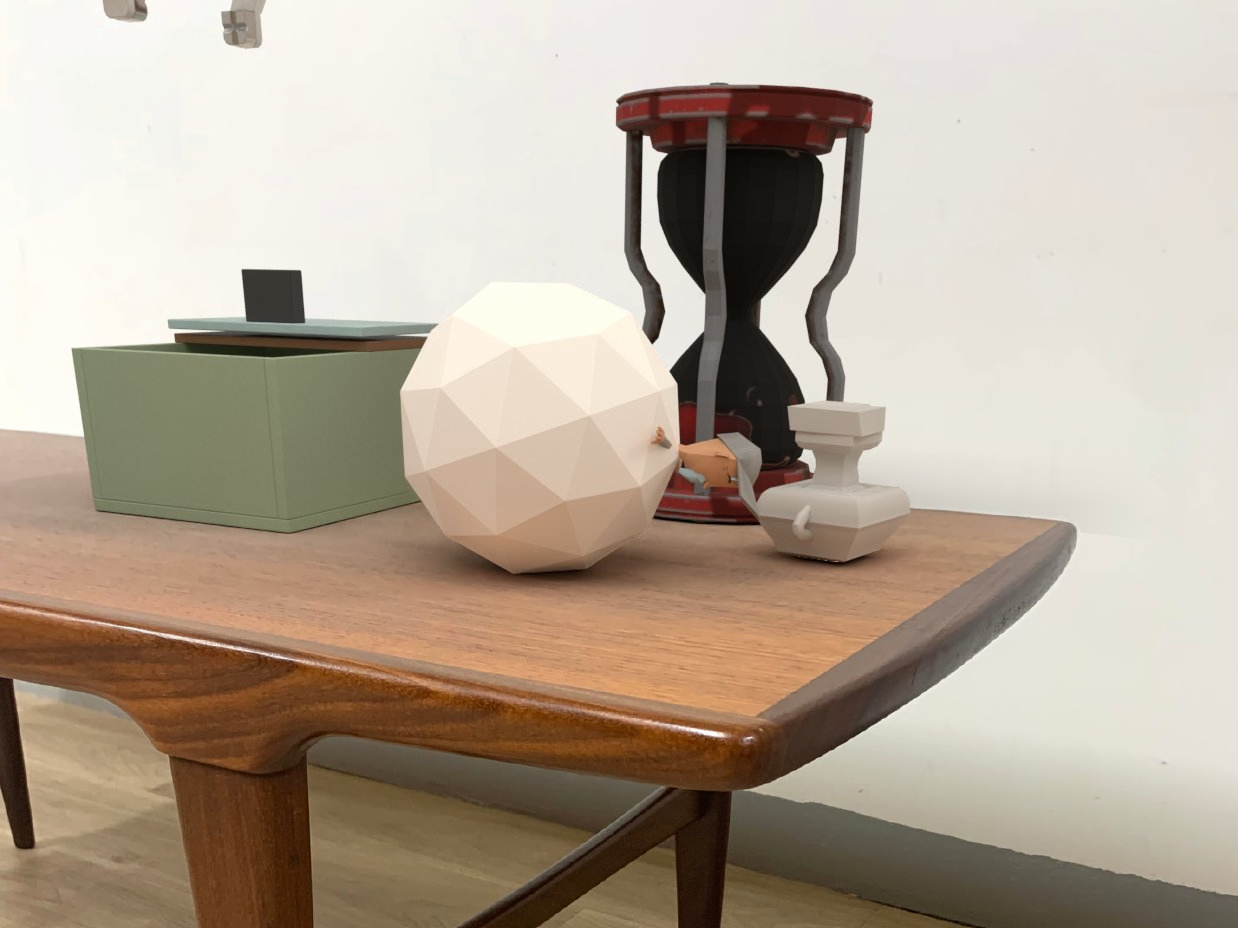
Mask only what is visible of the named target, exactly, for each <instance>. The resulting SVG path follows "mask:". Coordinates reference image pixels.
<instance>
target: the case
mask: <svg viewBox="0 0 1238 928" xmlns="http://www.w3.org/2000/svg"><path fill="white" fill-rule="evenodd" d="M173 337H174V342H163V343H161V342H160V343H159V342H158V343H142V344H121V345H103V346H85V347H84V346H82V347H80V346H79V347H71V355H72V362H73V369H74V376H75V382H76V389H77V397H78V404H79V411H80V417H81V424H82V425H81V426H82V431H83V438H84V445H85V451H86V458H87V466H88V472H89V477H90V478H89V479H90V486H91V492H92V498H93V502H94V503H93V505H94V510H95V511H98V512H106V513H107V512H108V513H117V514H124V515H125V514H126V515H133V516H142V517H149V518H158V519H167V520H176V521H183V522H191V523H201V524H209V525H217V526H225V527H233V528H243V529H252V530H260V531H268V532H277V533H286V534H291V533H296V532H299V531H304V530H308V529H312V528H315V527H320V526H324V525H328V524H332V523H336V522H340V521H344V520H348V519H352V518H356V517H361V516H364V515H369V514H373V513H376V512H381V511H385V510H389V509H393V508H397V507H400V506H405V505H409V504H414V503H417V502H422V501H421V499H420V498H419V497H418V495H417V494H416V492H415V491H414V489H413V488H412V486H411V485H410V483H409V482H408V481H407V479H406V478H405V469H404V452H403V434H402V417H401V399H400V390H401V388H402V386H403V385H404V383H405V381H406V379H407V377H408V375H409V373H410V371H411V369H412V367H413V365H414V363H415V361H416V359H417V357H418V355H419V353H420V351H421V349H422V347H423V345H424V343H425V341H426V339H427V338H428V336H427V335H425V336H424V335H423V336H422V335H389V336H371V337H350V336H327V335H304V334H281V333H258V332H234V331H196V332H194V331H193V332H174V334H173Z"/></svg>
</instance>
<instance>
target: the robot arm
mask: <svg viewBox="0 0 1238 928" xmlns="http://www.w3.org/2000/svg"><path fill="white" fill-rule="evenodd" d="M266 1H267V0H232V1H231V5H230V10H224V11H220V15H221V24H222V27H223V32H222V37H223V40H224V42H225V44H227V45H228V46H232V47H235V48H239V49H245V50H249V49H259V48H260V47H261V46H262V44H263V33H262V32H263V31H262V20H261V14H262V13H263V11H264V7H265V4H266ZM102 6H103V13H104V14H105V16H106V17H107V18H109V19H111V20H115V21H120V22H126V23H137V22H138V23H141V22H144V21H146V20H147V17H148V15H149V11H148V6H147V4H146V0H102Z"/></svg>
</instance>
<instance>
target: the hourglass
mask: <svg viewBox="0 0 1238 928" xmlns="http://www.w3.org/2000/svg"><path fill="white" fill-rule="evenodd" d="M615 103H616V104H617V106H616V107H615V126H616V128H617V129H619V130H620V131H622V132H624V133H625V174H624V175H625V179H624V182H625V183H624V230H623V231H624V234H623V240H624V242H623V248H624V249H623V252H624V254H625V257H626V261H627V265H628V269H629V271H630V272H631V274H632V275H633V277H634V278H635V280H636V281H637V283H638V284H639V286H640V287H641V290H642V298H643V304H644V309H645V312H644V316H643V322H642V326H641V328H642V330H643V332H644V333H645V335H646V336H647V338H648V339H649V341H650V342H651V344H652V346H653V345H654V344H655V343H656V342H657V341H658V339H659V338H660V334H661V330H662V327H663V323H664V319H665V315H666V307H665V302H664V298H663V297H664V296H663V293H662V287H661V284H660V283H659V282H658V281H657V279H656V278H655V277H654V275H653V274H652V272H650V270H649V268H648V266H647V262H646V260H645V256H644V253H643V250H642V215H643V213H642V212H643V210H642V207H643V205H642V203H643V158H644V154H643V153H644V136H645V137H649V139H650V143H651V148H652V149H653V150H654V151H656V152H658V153H662V154H665V156H664V157H663V158H662V160H660V163H659V166H658V170H657V175H656V177H657V180H656V202H657V211H658V222H659V225H660V228H661V230H662V233H663V235H664V237H665V240H666V243H667V245H668V247H669V249H670V250H671V252H672V253H673V254H674V256H675V257H676V259H677V261H678V262H679V264H680V265H681V267H682V268H683V270H685V272H686V273H687V274H688V275H689V277H690V278H691V279H692V280H693V281H694V283H695V284H696V285H697V287H698V288H699V289H700V291H701V292H702V293H703V294H704V296H705V298H704V324H703V325H704V326H703V331H702V332H701V333H700V334H699V336H697V338H696V339H695V340H694V341H693V342H692V343H691V344H690V345H689V347H687V349H685V351H684V352H683V353H682V354H681V355H680V356H679V358H678V359H677V360H676V361H675V363H674V364H673V365H672V367H671V368H670V370H669V372H670V373H671V375H672V377H673V378H674V380H675V381H676V383H677V389H678V413H679V436H680V444H682V445H685V446H687V445H691V444H695V443H699V442H703V441H708V440H712V439H717V438H718V436H717V434H726V433H737V432H739V433H740V434H741V435H742V436H744V437H745V438H746V439H747V440H749V441H750V442H751V443H753V444H754V445H756V446H757V447H759V448H760V449H761V458H762V464H761V468H760V471H759V475H758V477H757V479H756V481H755V483H754V485H753V486H752V487H753V491H754V495H755V499H756V503H757V502H758V500H759V498H760V496H761V494H762V493H763V492H764V491H766V490H768V489H769V488H773V487H777V486H782V485H786V484H791V483H795V482H800V481H804V480H808V479H813V475H814V472H811V470H810V469H811V468H810V465H809V464H808V463H807V462H805V461H803V460H800V458H801V457H802V456H803V452H804V450H805V449H803V448H801V447H799V446H798V444H797V443H796V442H795V436H796V430H790V425H789V415H788V406H793V405H800V404H805V403H806V398H805V396H804V394H803V390H802V389H801V386H800V383H799V380H798V378H797V376H796V375H795V373H794V371H792V369H791V367H790V366H789V364H788V362H786V360H785V358H784V357H783V356H782V354H781V353H780V351H778V349H777V348H776V347H775V345H774V344H773V343H772V341H771V340H770V339H769V337H768V336H767V335H766V334H765V333H764V331H762V329H761V328H760V327H761V312H762V311H761V308H762V299H763V298H764V297H765V296H767V294H768V293H769V292H770V291H772V289H773V288H774V287H775V286H776V284H778V283H779V281H780V280H781V279H783V277H784V276H785V275H786V274H787V273H788V271H790V269H791V268H792V267H793V266H794V265H795V263H796V262H797V260H798V259H800V257H801V256H802V254H803V253H804V252H805V250H806V249H807V247H808V245H809V243H810V241H811V239H812V237H813V235H814V233H815V231H816V229H817V227H818V224H819V218H820V213H821V208H822V202H823V193H824V180H825V179H824V178H825V173H824V168H823V167H824V166H823V162H822V161H821V159H819V158H818V156H823V155H827V154H830V153H832V152H833V148H834V145H835V143H836V140H838V139H845V150H844V163H843V164H844V165H843V177H842V187H841V201H840V202H841V203H840V215H839V228H838V238H837V251H836V252H835V256H834V258H833V261H832V263H831V265H830V267H829V269H828V272H827V273H825V275H824V276H823V277H822V278H821V279H820V280H819V282H817V284H816V285H814V287H813V288H812V291H811V294H810V297H809V301H808V304H807V307H806V310H805V313H804V319H805V326H806V330H807V338H808V342H809V344H810V345H811V347H812V348H813V350H814V351H815V352H816V353H817V355H818V356H819V357H820V359H821V362H822V365H823V368H824V371H825V376H826V379H827V382H826V397H825V401H836V402H844V398H845V389H846V387H845V386H846V374H845V370H844V366H843V362H842V359H841V357H840V355H839V354H838V352H837V351H836V349H835V347H834V346H833V345H832V343H831V342H830V339H829V331H828V321H827V314H828V310H829V307H830V302H831V299H832V295H833V292H834V291H835V289H836V288H837V287H838V286H839V284H840V283H841V282H842V281H843V280H844V278H845V277H847V275H848V273H849V271H850V269H851V266H852V264H853V261H854V258H855V256H856V254H857V253H856V252H857V251H856V250H857V238H858V229H859V228H858V226H859V217H860V216H859V215H860V202H861V191H862V189H861V188H862V177H863V164H864V153H865V152H864V150H865V140H866V139H865V138H866V134H869V133H870V131H871V128H872V123H873V122H872V121H873V105H874V101H873V100H872V99H871V98H869V97H868V96H865V95H862V94H859V93H853V92H849V91H843V90H837V89H830V88H829V89H828V88H820V87H819V88H818V87H809V86H797V85H775V84H729V82H728V83H727V82H710V83H709V84H696V85H675V86H666V87H655V88H654V87H653V88H647V89H645V88H644V89H641V90H635V91H630V92H627V93H624V94H622V95H621V96H619V97H618V98H617V99H616V100H615ZM681 468H685V466H684V462H683V460H682V466H681ZM678 472H679V471H678V470H675V471H674V472H673V473H672V476H671V478H670V480H669V482H668V485H667V487H666V489H665V491H664V494H663V496H662V498H661V500H660V503H659V505H658V507H657V509H656V511H655V514H654V516H653V517H659V518H666V519H675V520H687V521H693V522H694V523H710V522H713V523H715V522H716V523H737V524H738V523H740V524H741V523H760V522H759V520H758V519H757V518H756V517H755V516H754V515H753V514H752V513H751V512H750V510H749V509H748V508H747V507H746V506H745V505H744V504H743V501H742V499H741V498H740V496H739V487H738V488H733V487H715V486H714V487H709V488H706V489H704V488H703V487H704V485H701V484H699V483H691V482H690V481H689V480H687V479H686V478H685V477H683V476H682V475H681V474H680V473H678Z"/></svg>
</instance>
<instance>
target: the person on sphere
mask: <svg viewBox="0 0 1238 928" xmlns="http://www.w3.org/2000/svg"><path fill="white" fill-rule="evenodd" d="M427 337H428V338H427V339H426V341H425V343H424V345H423V347H422V349H421V351H420V353H419V355H418V357H417V359H416V361H415V363H414V365H413V367H412V369H411V371H410V373H409V375H408V377H407V379H406V381H405V383H404V385H403V386H402V388H401V390H400V399H401V417H402V434H403V452H404V469H405V478H406V479H407V481H408V482H409V483H410V485H411V486H412V488H413V489H414V491H415V492H416V494H417V495H418V497H419V498H420V499H421V501H420V502H421V503H422V504H423V506H424V507H425V508H426V510H427V511H428V513H429V514H430V515H431V516H432V518H433V520H434V522H435V523H436V524H437V526H438V527H439V529H440V530H441V532H442V533H443V534H444V536H445V537H447V538H449V539H450V540H452V541H454V542H456V543H458V544H459V545H461V546H463V547H465V548H466V549H468V550H470V551H472V552H473V553H476V554H477V555H479V556H480V557H483V558H484V559H486V560H488V561H490V562H491V563H493V564H495V565H497V566H498V567H500V568H502V569H503V570H505V571H507V572H509V573H511V574H512V575H518V574H533V573H547V572H548V573H549V572H562V571H576V570H577V571H578V570H579V571H580V570H587V569H588V568H590V567H592V566H593V565H594V564H596V563H599V561H600V560H601V561H602V559H604V558H605V557H607V556H609V555H610V554H612V553H613V552H614V551H616V550H618V549H619V548H621V547H622V546H624V545H625V544H626V543H628V542H629V541H631V540H633V539H634V538H636V537H638V536H639V535H640V534H642V533H643V532H645V531H646V530H648V529H649V527H650V525H651V523H652V520H653V518H654V517H655V516H654V514H655V511H656V509H657V507H658V505H659V503H660V500H661V498H662V496H663V494H664V491H665V489H666V487H667V485H668V482H669V480H670V478H671V476H672V473H673V472H674V471H675V470H678V471H679V472H678V473H680V474H681V475H682V476H683V477H685V478H686V479H687V480H689V481H690V482H691V483H699V484H701V485H704V487H703V488H704V489H706V488H709V487H714V486H715V487H733V488H738V487H739V496H740V498H741V499H742V501H743V504H744V505H745V506H746V507H747V508H748V509H749V510H750V512H751V513H752V514H753V515H754V516H755V517H756V518H758V519H760V520H761V518H760V514H759V511H758V507H757V503H756V499H755V495H754V491H753V487H752V486H753V485H754V483H755V481H756V479H757V477H758V475H759V471H760V468H761V464H762V458H761V449H760V448H759V447H757V446H756V445H754V444H753V443H751V442H750V441H749V440H747V439H746V438H745V437H744V436H742V435H741V434H740V433H739V432H737V433H726V434H717V436H718V438H717V439H712V440H708V441H703V442H699V443H695V444H691V445H687V446H685V445H682V444H680V436H679V413H678V389H677V383H676V381H675V380H674V378H673V377H672V375H671V373H670V372H669V371H670V370H669V369H668V367H667V365H666V364H665V363H664V361H663V359H662V358H661V356H660V355H659V353H658V352H657V350H656V348H654V346H653V345H652V344H651V342H650V341H649V339H648V338H647V336H646V335H645V333H644V332H643V330H642V326H641V325H640V324H639V323H638V321H637V318H636V317H635V316H634V314H633V312H631V311H630V310H627V309H626V308H623V307H621V306H619V305H617V304H615V303H612V302H610V301H608V300H606V299H604V298H602V297H600V296H597V295H595V294H593V293H591V292H589V291H586V290H585V289H582V288H581V287H578V286H576V285H574V284H572V283H569V282H527V281H526V282H525V281H524V282H523V281H520V282H519V281H518V282H517V281H515V282H514V281H491V282H490V283H488V284H487V285H486V286H485V287H484V288H482V289H481V290H480V291H479V292H478V293H476V294H475V295H473V297H471V298H470V299H469V300H468V301H466V302H465V303H463V304H462V305H461V306H459V308H457V309H456V310H455V311H454V312H452V313H451V314H449V316H446V318H445V319H443V320H442V321H441V322H440V323H439V325H437V326H436V327H435V328H434V329H432V330H431V332H430V333H428V336H427ZM682 460H683V462H684V466H685V468H681V466H682Z"/></svg>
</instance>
